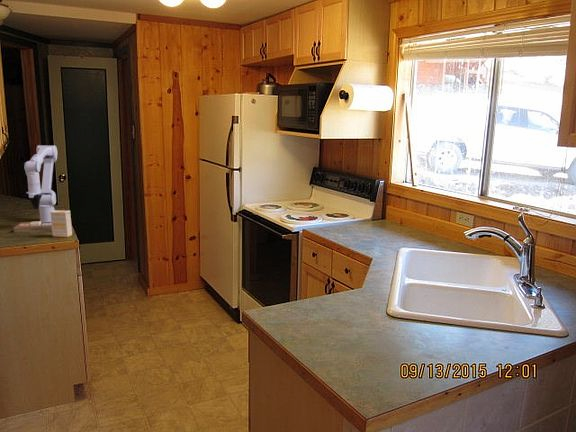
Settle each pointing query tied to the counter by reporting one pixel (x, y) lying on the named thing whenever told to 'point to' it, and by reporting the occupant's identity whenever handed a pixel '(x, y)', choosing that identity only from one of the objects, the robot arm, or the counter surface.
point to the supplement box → (61, 223)
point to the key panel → (33, 228)
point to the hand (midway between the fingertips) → (36, 208)
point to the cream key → (35, 223)
